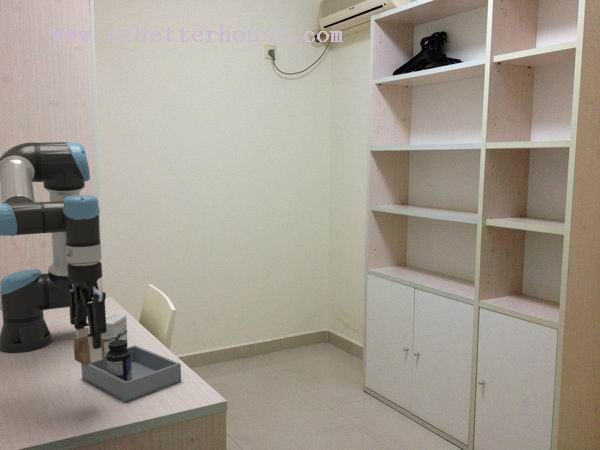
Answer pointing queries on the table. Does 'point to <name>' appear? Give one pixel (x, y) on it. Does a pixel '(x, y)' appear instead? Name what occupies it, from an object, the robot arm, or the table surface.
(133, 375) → the tote
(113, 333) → the ink box
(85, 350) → the walnut cube
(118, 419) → the table surface
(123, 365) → the pill bottle
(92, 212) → the robot arm
